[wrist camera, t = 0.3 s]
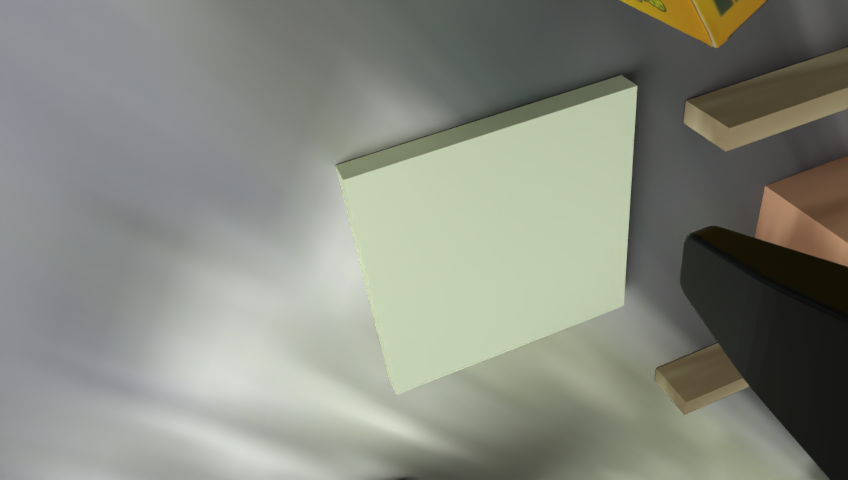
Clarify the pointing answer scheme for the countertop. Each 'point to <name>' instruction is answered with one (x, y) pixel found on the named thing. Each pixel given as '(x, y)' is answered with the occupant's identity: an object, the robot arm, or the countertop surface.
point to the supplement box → (701, 16)
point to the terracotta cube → (809, 212)
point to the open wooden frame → (733, 127)
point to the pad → (495, 229)
